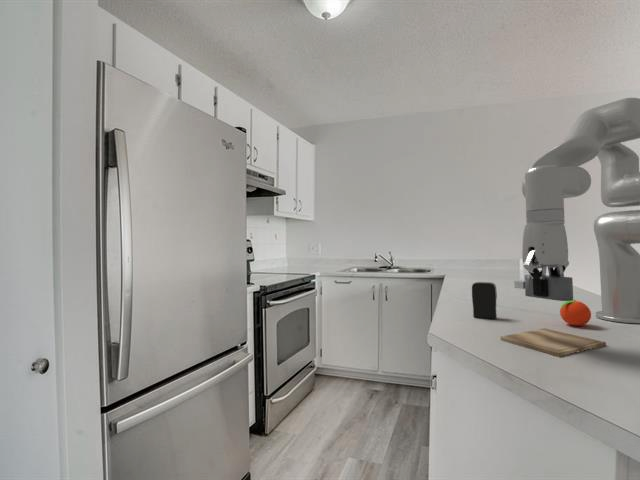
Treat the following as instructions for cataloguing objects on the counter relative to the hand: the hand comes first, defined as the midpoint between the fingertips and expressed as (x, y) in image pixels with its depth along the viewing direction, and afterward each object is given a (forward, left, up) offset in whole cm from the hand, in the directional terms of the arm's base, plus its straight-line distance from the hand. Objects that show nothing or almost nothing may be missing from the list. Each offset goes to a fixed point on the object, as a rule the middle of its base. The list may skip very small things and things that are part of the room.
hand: (548, 294), depth 79 cm
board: (0, 0, -11) cm, 11 cm away
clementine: (-20, -7, -12) cm, 24 cm away
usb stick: (0, -1, -1) cm, 1 cm away
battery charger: (-8, -26, -12) cm, 30 cm away
